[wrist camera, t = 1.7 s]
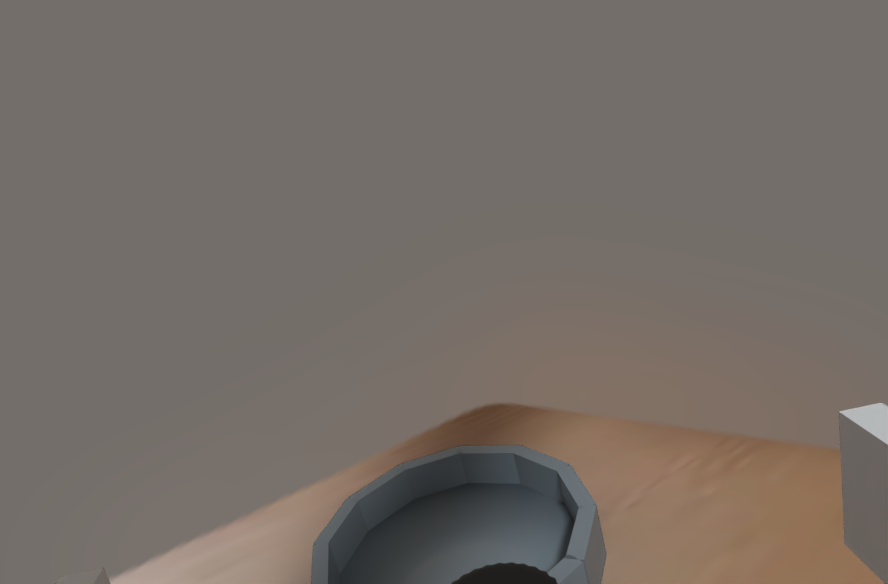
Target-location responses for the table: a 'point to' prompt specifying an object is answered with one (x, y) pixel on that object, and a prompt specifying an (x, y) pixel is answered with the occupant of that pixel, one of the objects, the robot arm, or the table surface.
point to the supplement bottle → (506, 575)
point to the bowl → (464, 521)
